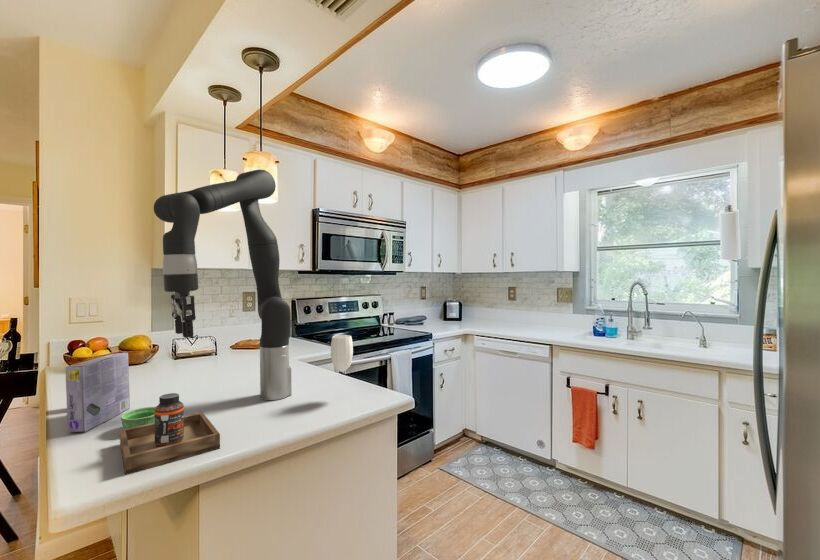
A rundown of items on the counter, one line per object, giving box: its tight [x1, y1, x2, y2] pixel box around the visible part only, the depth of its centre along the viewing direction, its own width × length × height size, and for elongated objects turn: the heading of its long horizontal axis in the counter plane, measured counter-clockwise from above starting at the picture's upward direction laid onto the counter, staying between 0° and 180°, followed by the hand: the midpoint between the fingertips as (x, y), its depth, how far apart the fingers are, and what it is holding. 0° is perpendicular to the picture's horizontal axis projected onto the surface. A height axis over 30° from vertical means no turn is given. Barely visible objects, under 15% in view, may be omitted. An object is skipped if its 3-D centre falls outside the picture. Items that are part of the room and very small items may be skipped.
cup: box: [330, 334, 354, 373], centre depth 124 cm, size 7×7×21 cm
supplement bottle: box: [155, 392, 185, 447], centre depth 90 cm, size 6×6×11 cm
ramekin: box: [120, 406, 156, 430], centre depth 101 cm, size 9×9×4 cm
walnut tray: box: [119, 412, 221, 476], centre depth 90 cm, size 18×18×4 cm
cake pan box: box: [64, 352, 131, 433], centre depth 107 cm, size 19×5×18 cm, turn 4°
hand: (184, 335), depth 97 cm, fingers open, 8 cm apart
